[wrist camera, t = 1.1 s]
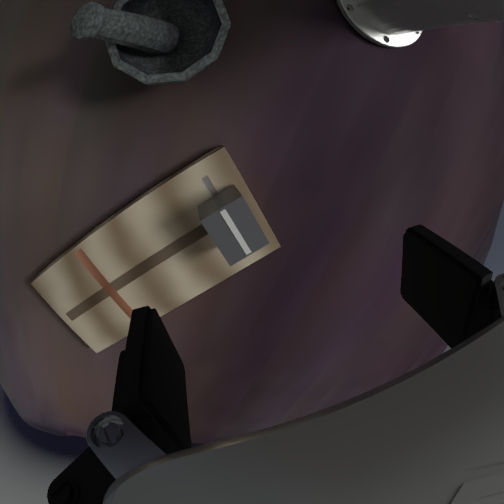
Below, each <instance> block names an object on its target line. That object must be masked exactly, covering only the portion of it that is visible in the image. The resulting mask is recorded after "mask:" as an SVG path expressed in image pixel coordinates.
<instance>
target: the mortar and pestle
mask: <svg viewBox="0 0 504 504" xmlns="http://www.w3.org/2000/svg"><path fill="white" fill-rule="evenodd" d="M230 26H231V22H230V19H229V16H228V14H227V11H226V9H225V6H224V4H223V1H222V0H118V1H116V4H115V6H114V8H113V9H109V8H104V6H103V5H101V4H98V3H96V2H88V3H86V4H84V5H82V6H81V7H80V8H79V9H78V10H77V12H76V13H75V14H74V16H73V19H72V22H71V26H70V28H71V33H72V36H73V37H75V38H77V39H78V40H83V41H85V40H87V39H89V38H94V39H99V40H103V41H105V43H106V46H107V49H108V52H109V55H110V58H111V61H112V64H113V66H114V67H115V68H117V69H119V70H120V71H122V72H124V73H126V74H128V75H129V76H131V77H133V78H135V79H137V80H138V81H140V82H142V83H144V84H145V85H156V84H167V83H180V82H186V81H188V80H189V79H191V78H192V77H193V76H195V75H196V74H197V73H199V72H200V71H202V70H203V69H205V68H206V67H207V66H209V65H210V64H212V63H213V62H215V61H216V60H217V59H218V58H219V55H220V52H221V50H222V47H223V44H224V42H225V39H226V36H227V34H228V31H229V29H230Z"/></svg>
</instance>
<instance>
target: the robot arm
mask: <svg viewBox="0 0 504 504" xmlns="http://www.w3.org/2000/svg"><path fill="white" fill-rule="evenodd" d="M336 2H337V5H338V7H339V8H340V10H341V12H342V14H343V15H344V17H345V18H346V20H347V21H348V22H349V24H350V25H351V26H352V27H353V28H354V29H355V30H356V31H357V32H358V33H360V34H361V35H362V36H363V37H365V38H366V39H368V40H370V41H371V42H373V43H375V44H378V45H380V46H384V47H388V48H400V47H405V46H408V45H411V44H412V43H414V42H415V41H416V40H417V39H418V38H419V36H420V34H421V32H422V30H428V29H434V28H440V27H447V26H454V25H462V24H471V23H482V22H496V21H504V0H336ZM492 274H493V272H492V271H490V270H489V269H487V268H486V267H485V266H483V265H482V264H480V263H479V262H478V261H476V260H475V259H473V258H472V257H470V256H469V255H467V254H466V253H464V252H463V251H461V250H460V249H458V248H457V247H455V246H454V245H452V244H451V243H449V242H448V241H446V240H445V239H443V238H442V237H440V236H438V235H437V234H435V233H434V232H432V231H430V230H429V229H427V228H426V227H424V226H422V225H416V226H413V227H410V228H408V229H407V230H406V233H405V234H404V236H403V259H402V277H401V295H402V297H403V299H404V300H405V301H406V302H407V303H408V304H409V305H410V306H411V307H412V308H413V309H414V310H415V311H416V312H417V313H418V314H419V315H420V316H421V317H422V318H423V319H424V320H425V321H426V322H427V323H428V324H429V325H430V326H431V327H432V328H433V329H434V330H435V332H436V333H437V334H438V335H439V336H440V337H441V338H442V339H443V340H444V341H445V342H446V343H447V344H448V345H449V346H450V348H452V349H450V350H448V351H446V352H445V353H443V354H441V355H439V356H438V357H436V358H434V359H432V360H430V361H429V362H427V363H425V364H423V365H421V366H419V367H417V368H415V369H413V370H411V371H410V372H408V373H406V374H404V375H402V376H400V377H397V378H395V379H393V380H391V381H389V382H387V383H385V384H383V385H381V386H378V387H376V388H374V389H372V390H369V391H367V392H365V393H363V394H360V395H358V396H356V397H353V398H351V399H348V400H346V401H343V402H341V403H338V404H336V405H333V406H331V407H328V408H325V409H323V410H320V411H317V412H314V413H312V414H309V415H306V416H303V417H300V418H297V419H294V420H291V421H288V422H285V423H282V424H278V425H275V426H272V427H268V428H265V429H262V430H258V431H255V432H251V433H248V434H244V435H240V436H237V437H233V438H229V439H225V440H221V441H217V442H212V443H208V444H204V445H200V446H196V447H192V448H191V437H190V427H189V417H188V405H187V393H186V380H185V369H184V365H183V362H182V360H181V358H180V356H179V354H178V352H177V350H176V348H175V346H174V344H173V343H172V341H171V339H170V337H169V335H168V333H167V330H166V328H165V326H164V324H163V322H162V320H161V318H160V316H159V314H158V312H157V310H156V309H155V308H153V309H151V308H150V307H149V306H144V307H141V308H137V309H133V310H132V314H131V320H130V325H129V331H128V337H127V343H126V350H124V351H122V352H121V353H120V357H119V363H118V369H117V376H116V383H115V390H114V397H113V406H112V411H108V412H105V413H102V414H100V415H98V416H97V417H95V418H94V420H93V421H92V422H91V423H90V425H89V427H88V429H87V433H86V438H87V442H88V444H89V447H88V448H87V449H86V450H85V451H84V452H83V453H82V454H81V455H80V456H79V457H78V458H77V459H75V461H73V462H72V463H71V464H70V465H69V466H68V467H67V468H66V469H65V470H64V471H63V472H62V473H61V474H60V475H59V476H57V478H56V479H54V480H53V482H52V483H51V484H50V486H49V489H48V494H47V498H48V503H49V504H504V273H503V274H500V275H498V276H497V277H496V279H495V281H494V282H493V281H492V280H491V278H492Z"/></svg>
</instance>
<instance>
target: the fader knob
mask: <svg viewBox="0 0 504 504" xmlns="http://www.w3.org/2000/svg"><path fill="white" fill-rule="evenodd" d="M197 207H198V213H199V218H200V222H201V223H202V225H203V226H204V228H205V229H206V231H207V232H208V234H209V235H210V237H211V238H212V240H213V241H214V243H215V244H216V246H217V247H218V249H219V250H220V252H221V253H222V255H223V256H224V258H225V259H226V261H227V262H228V264H229V265H230V266H232V265H234V264H235V263H237V262H239V261H241V260H242V259H244V258H246V257H247V256H249V255H251V254H252V253H254V252H256V251H258V250H259V249H261V248H263V247H264V246H266V245H268V244H269V241H268V239H267V238H266V236H265V234H264V232H263V231H262V229H261V227H260V225H259V224H258V222H257V220H256V218H255V217H254V215H253V213H252V211H251V210H250V208H249V206H248V204H247V203H246V201H245V199H244V197H243V196H242V194H241V193H240V192H239V190H238V189H237V188H236V186H235V185H234V184H233V185H231V186H230V187H228V188H226V189H225V190H223V191H221V192H220V193H218V194H216V195H215V196H213V197H211V198H210V199H208V200H206V201H205V202H203V203H201V204H200V205H198V206H197Z"/></svg>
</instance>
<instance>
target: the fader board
mask: <svg viewBox="0 0 504 504" xmlns="http://www.w3.org/2000/svg"><path fill="white" fill-rule="evenodd" d="M233 184H234V185H235V186H236V188H237V189H238V190H239V192H240V193H241V194H242V196H243V197H244V199H245V201H246V203H247V204H248V206H249V208H250V210H251V211H252V213H253V215H254V217H255V218H256V220H257V222H258V224H259V225H260V227H261V229H262V231H263V232H264V234H265V236H266V238H267V239H268V241H269V244H268V245H266V246H264V247H263V248H261V249H259V250H258V251H256V252H254V253H252V254H251V255H249V256H247V257H246V258H244V259H242V260H241V261H239V262H237V263H235V264H234V265H232V266H230V265H229V264H228V262H227V261H226V259H225V258H224V256H223V255H222V253H221V252H220V250H219V249H218V247H217V246H216V244H215V243H214V241H213V240H212V238H211V237H210V235H209V234H208V232H207V231H206V229H205V228H204V226H203V225H202V223H201V222H200V218H199V213H198V207H197V206H198V205H200V204H201V203H203V202H205V201H206V200H208V199H210V198H211V197H213V196H215V195H216V194H218V193H220V192H221V191H223V190H225V189H226V188H228V187H230V186H231V185H233ZM279 247H281V246H280V244H279V243H278V241H277V239H276V237H275V235H274V234H273V232H272V230H271V228H270V226H269V224H268V223H267V221H266V219H265V217H264V215H263V214H262V212H261V210H260V208H259V207H258V205H257V203H256V201H255V199H254V198H253V196H252V194H251V192H250V191H249V189H248V187H247V185H246V183H245V182H244V180H243V178H242V176H241V175H240V173H239V171H238V169H237V168H236V166H235V164H234V162H233V161H232V159H231V157H230V155H229V154H228V152H227V150H226V149H225V147H224V146H223V145H221V146H219V147H217V148H216V149H214V150H212V151H210V152H209V153H207V154H205V155H204V156H202V157H200V158H199V159H197V160H195V161H194V162H192V163H190V164H189V165H187V166H186V167H184V168H182V169H181V170H179V171H178V172H176V173H174V174H173V175H171V176H170V177H168V178H167V179H165V180H163V181H162V182H160V183H159V184H157V185H156V186H154V187H153V188H151V189H150V190H148V191H147V192H145V193H144V194H142V195H141V196H139V197H138V198H136V199H135V200H134V201H132V202H131V203H129V204H128V205H126V206H125V207H124V208H122V209H121V210H119V211H118V212H117V213H115V214H114V215H112V216H111V217H110V218H108V219H107V220H105V221H104V222H103V223H101V224H100V225H99V226H97V227H96V228H95V229H93V230H92V231H91V232H89V233H88V234H87V235H85V236H84V237H83V238H82V239H80V240H79V241H78V242H76V243H75V244H74V245H73V246H71V247H70V248H69V249H68V250H66V251H65V252H64V253H63V254H61V255H60V256H59V257H58V258H57V259H55V260H54V261H53V262H52V263H51V264H49V265H48V266H47V267H46V268H45V269H43V270H42V271H41V272H40V273H39V274H38V275H37V276H36V277H35V278H34V280H33V281H32V283H31V284H32V286H33V287H34V288H35V289H36V290H37V292H38V293H39V294H40V295H41V296H42V297H43V299H44V300H45V301H46V302H47V303H48V304H49V305H50V306H51V307H52V309H53V310H54V311H55V312H56V313H57V314H58V315H59V316H60V317H61V318H62V319H63V320H64V321H65V323H66V324H67V325H68V326H69V327H70V328H71V329H72V330H73V331H74V332H75V333H76V334H77V335H78V336H79V337H80V338H81V339H82V340H83V341H84V342H85V343H86V344H87V345H89V346H90V347H91V348H92V349H93V350H94V351H95V352H96V353H98V352H100V351H101V350H103V349H105V348H107V347H108V346H110V345H112V344H114V343H116V342H117V341H119V340H121V339H123V338H124V337H126V336H128V331H129V325H130V320H131V314H132V310H133V309H137V308H141V307H144V306H149V307H150V308H151V309H153V308H155V309H156V310H157V312H158V314H159V316H160V317H161V316H163V315H164V314H166V313H168V312H169V311H171V310H173V309H175V308H176V307H178V306H180V305H182V304H183V303H185V302H187V301H189V300H190V299H192V298H194V297H195V296H197V295H199V294H201V293H202V292H204V291H206V290H207V289H209V288H211V287H213V286H214V285H216V284H218V283H219V282H221V281H223V280H225V279H226V278H228V277H230V276H231V275H233V274H235V273H237V272H238V271H240V270H242V269H243V268H245V267H247V266H248V265H250V264H252V263H254V262H255V261H257V260H259V259H260V258H262V257H264V256H266V255H267V254H269V253H271V252H272V251H274V250H276V249H277V248H279Z"/></svg>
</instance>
